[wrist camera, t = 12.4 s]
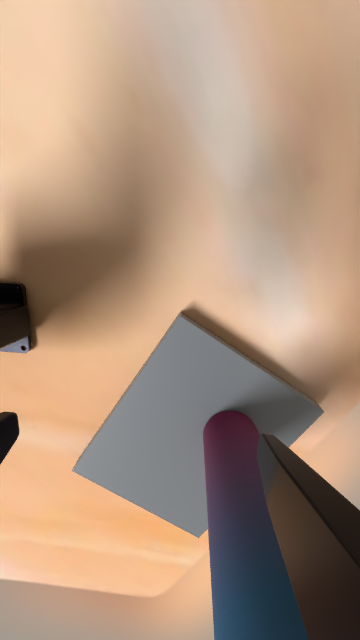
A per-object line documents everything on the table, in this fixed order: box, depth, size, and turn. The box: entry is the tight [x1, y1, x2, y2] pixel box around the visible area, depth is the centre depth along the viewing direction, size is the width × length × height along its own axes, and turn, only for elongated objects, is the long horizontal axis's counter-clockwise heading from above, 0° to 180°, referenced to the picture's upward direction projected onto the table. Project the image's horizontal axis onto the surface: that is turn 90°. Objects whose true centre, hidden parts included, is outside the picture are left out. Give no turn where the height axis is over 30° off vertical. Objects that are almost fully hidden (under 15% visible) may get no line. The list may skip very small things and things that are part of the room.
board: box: [72, 312, 324, 538], centre depth 23 cm, size 20×16×2 cm
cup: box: [203, 411, 309, 640], centre depth 14 cm, size 7×7×15 cm
